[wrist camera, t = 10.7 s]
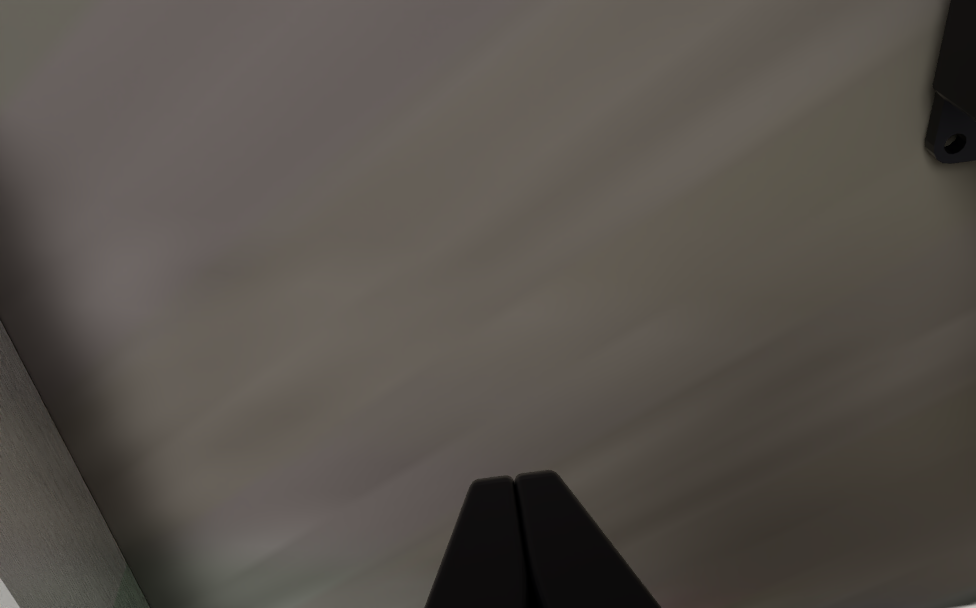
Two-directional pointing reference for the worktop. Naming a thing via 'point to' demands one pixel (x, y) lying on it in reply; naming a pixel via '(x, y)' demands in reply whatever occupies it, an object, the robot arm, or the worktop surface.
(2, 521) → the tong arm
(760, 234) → the worktop surface
